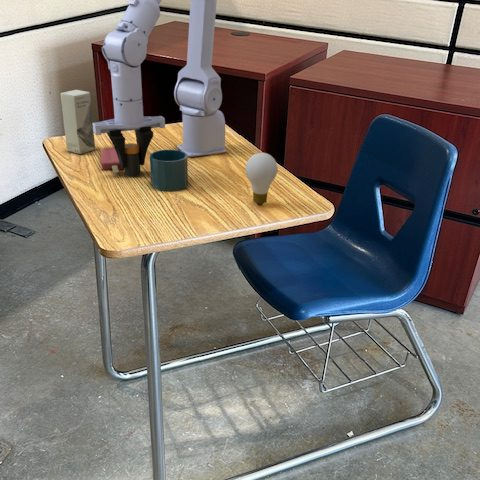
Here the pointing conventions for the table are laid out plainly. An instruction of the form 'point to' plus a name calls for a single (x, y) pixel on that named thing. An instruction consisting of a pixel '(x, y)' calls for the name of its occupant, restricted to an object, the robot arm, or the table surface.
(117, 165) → the popsicle
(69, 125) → the box
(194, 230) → the table surface
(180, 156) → the tumbler
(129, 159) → the glue stick
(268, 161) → the light bulb
